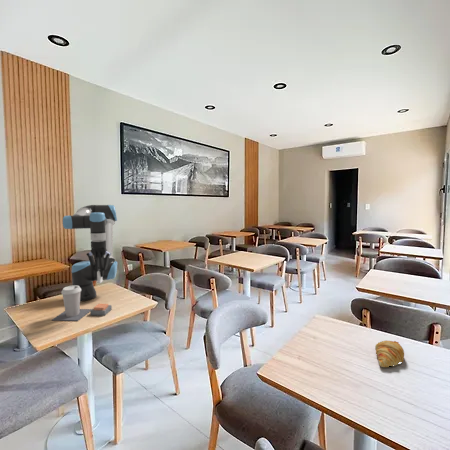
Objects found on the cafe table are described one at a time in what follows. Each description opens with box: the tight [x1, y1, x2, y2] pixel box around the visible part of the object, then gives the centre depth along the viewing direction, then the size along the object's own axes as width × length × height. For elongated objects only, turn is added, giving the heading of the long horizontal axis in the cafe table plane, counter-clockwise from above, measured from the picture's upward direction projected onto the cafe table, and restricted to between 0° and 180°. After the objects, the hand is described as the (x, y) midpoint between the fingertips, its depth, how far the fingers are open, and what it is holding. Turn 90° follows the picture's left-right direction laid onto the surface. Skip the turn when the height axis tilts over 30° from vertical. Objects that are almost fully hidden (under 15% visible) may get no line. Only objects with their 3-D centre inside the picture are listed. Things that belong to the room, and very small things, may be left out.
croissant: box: [374, 340, 405, 368], centre depth 107 cm, size 21×10×8 cm, turn 135°
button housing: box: [89, 304, 113, 317], centre depth 149 cm, size 8×8×3 cm
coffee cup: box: [60, 285, 81, 317], centre depth 145 cm, size 10×10×15 cm
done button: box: [93, 303, 109, 310], centre depth 149 cm, size 6×6×2 cm
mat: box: [51, 308, 93, 322], centre depth 145 cm, size 14×14×1 cm
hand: (100, 282), depth 147 cm, fingers closed
